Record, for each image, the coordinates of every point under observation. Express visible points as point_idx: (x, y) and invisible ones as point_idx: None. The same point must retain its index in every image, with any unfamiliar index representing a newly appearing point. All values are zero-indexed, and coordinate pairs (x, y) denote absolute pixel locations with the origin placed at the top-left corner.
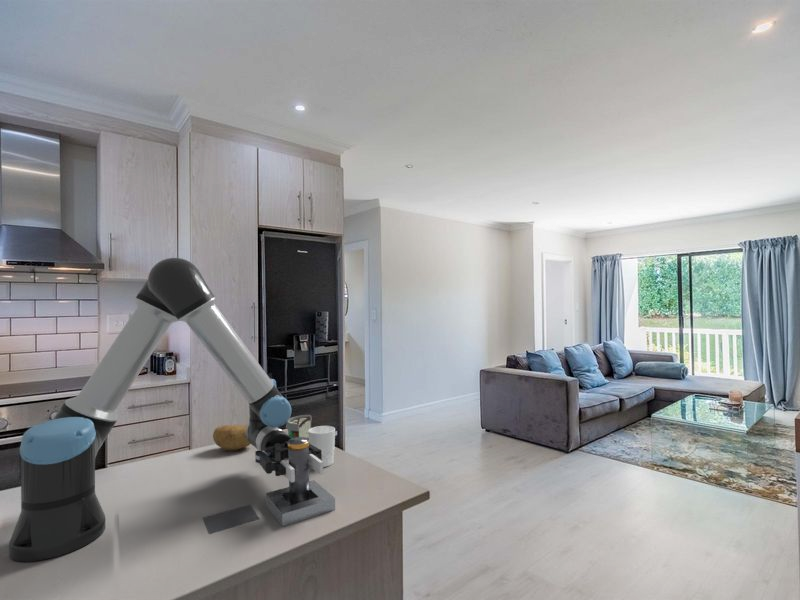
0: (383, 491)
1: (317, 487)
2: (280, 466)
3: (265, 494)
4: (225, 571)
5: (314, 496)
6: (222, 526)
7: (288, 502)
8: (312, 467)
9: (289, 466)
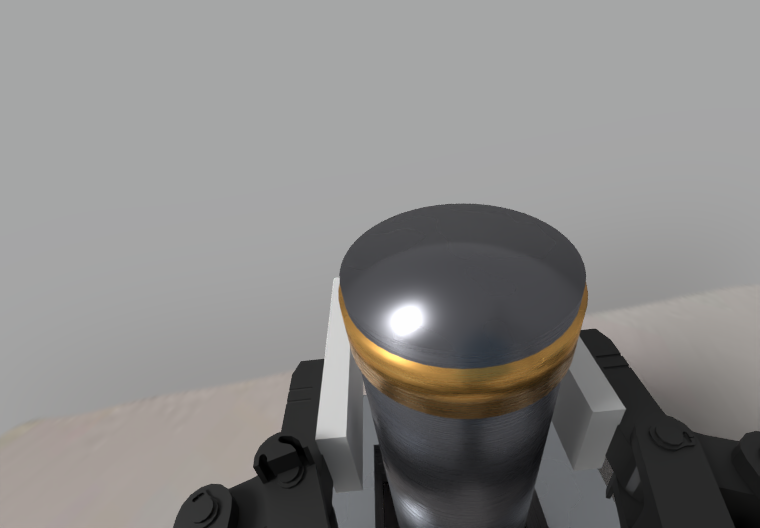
0: (55, 520)
1: None
2: (614, 368)
3: None
4: (686, 309)
5: (377, 509)
6: None
7: None
8: (361, 417)
9: None
